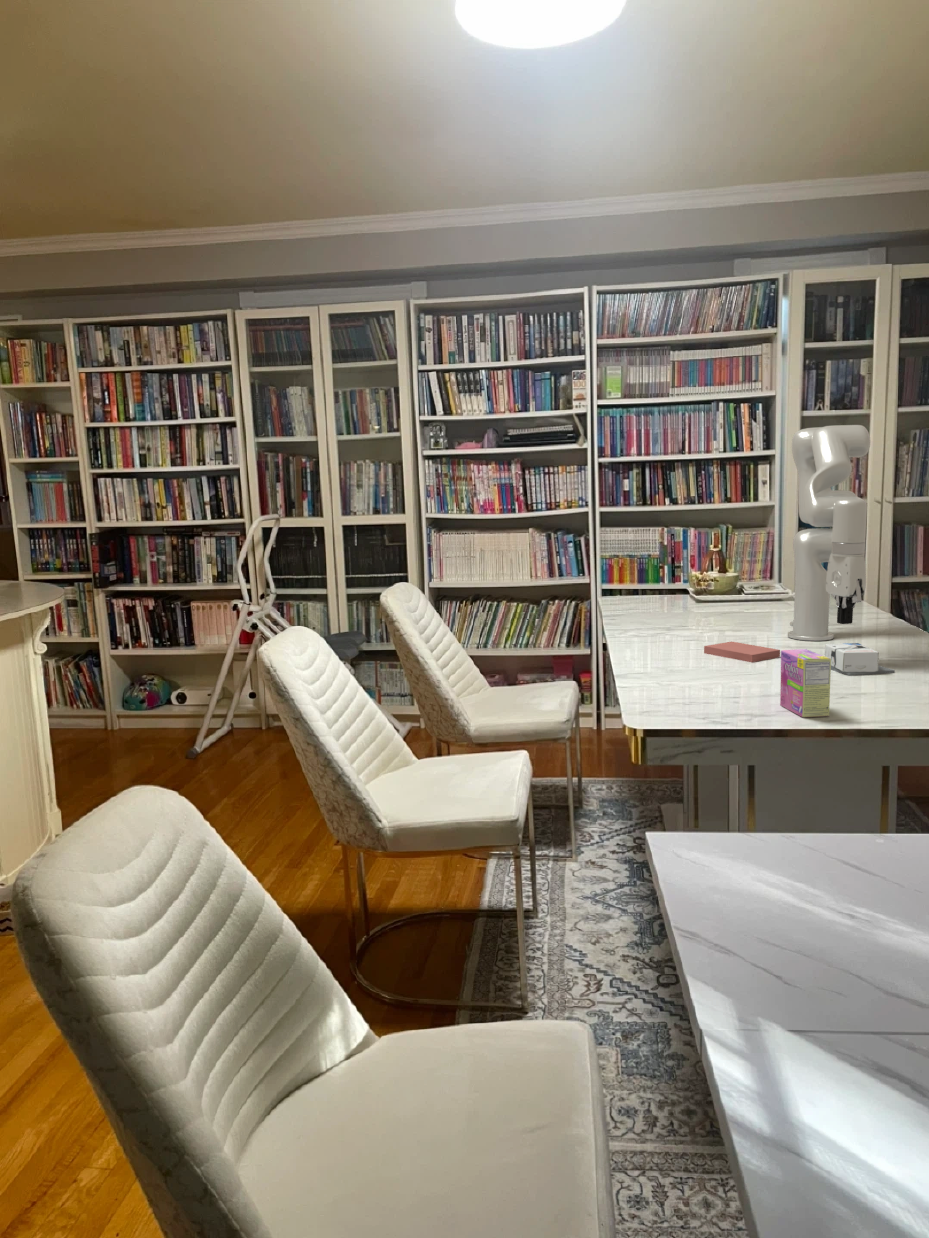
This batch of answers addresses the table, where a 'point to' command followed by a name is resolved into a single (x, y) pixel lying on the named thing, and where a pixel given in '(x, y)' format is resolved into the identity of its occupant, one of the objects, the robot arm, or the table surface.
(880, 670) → the slate mat
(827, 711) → the box
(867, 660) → the ink box
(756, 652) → the hardcover book
